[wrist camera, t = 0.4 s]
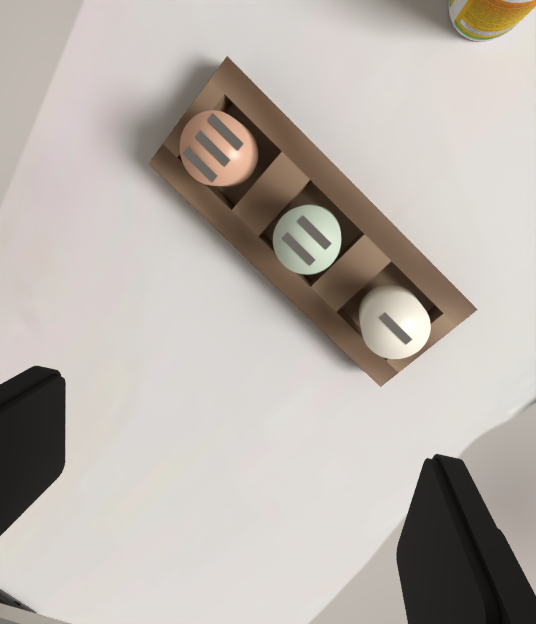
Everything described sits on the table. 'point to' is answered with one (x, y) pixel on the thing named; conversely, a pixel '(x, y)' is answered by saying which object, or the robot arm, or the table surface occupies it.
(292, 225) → the button
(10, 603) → the phone
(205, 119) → the button
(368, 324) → the button
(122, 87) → the table surface
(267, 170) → the button board
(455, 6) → the supplement bottle
